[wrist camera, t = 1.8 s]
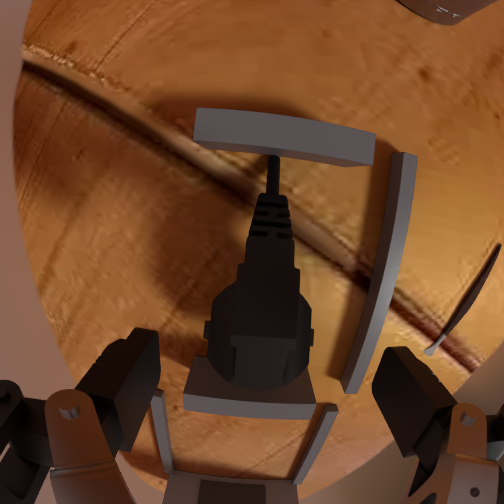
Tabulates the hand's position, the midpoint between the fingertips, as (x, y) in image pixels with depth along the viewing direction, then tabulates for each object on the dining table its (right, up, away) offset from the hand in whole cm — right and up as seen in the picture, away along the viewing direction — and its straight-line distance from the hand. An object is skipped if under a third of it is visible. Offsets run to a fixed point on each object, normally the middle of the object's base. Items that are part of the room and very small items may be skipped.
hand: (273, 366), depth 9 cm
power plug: (0, +3, +8) cm, 9 cm away
